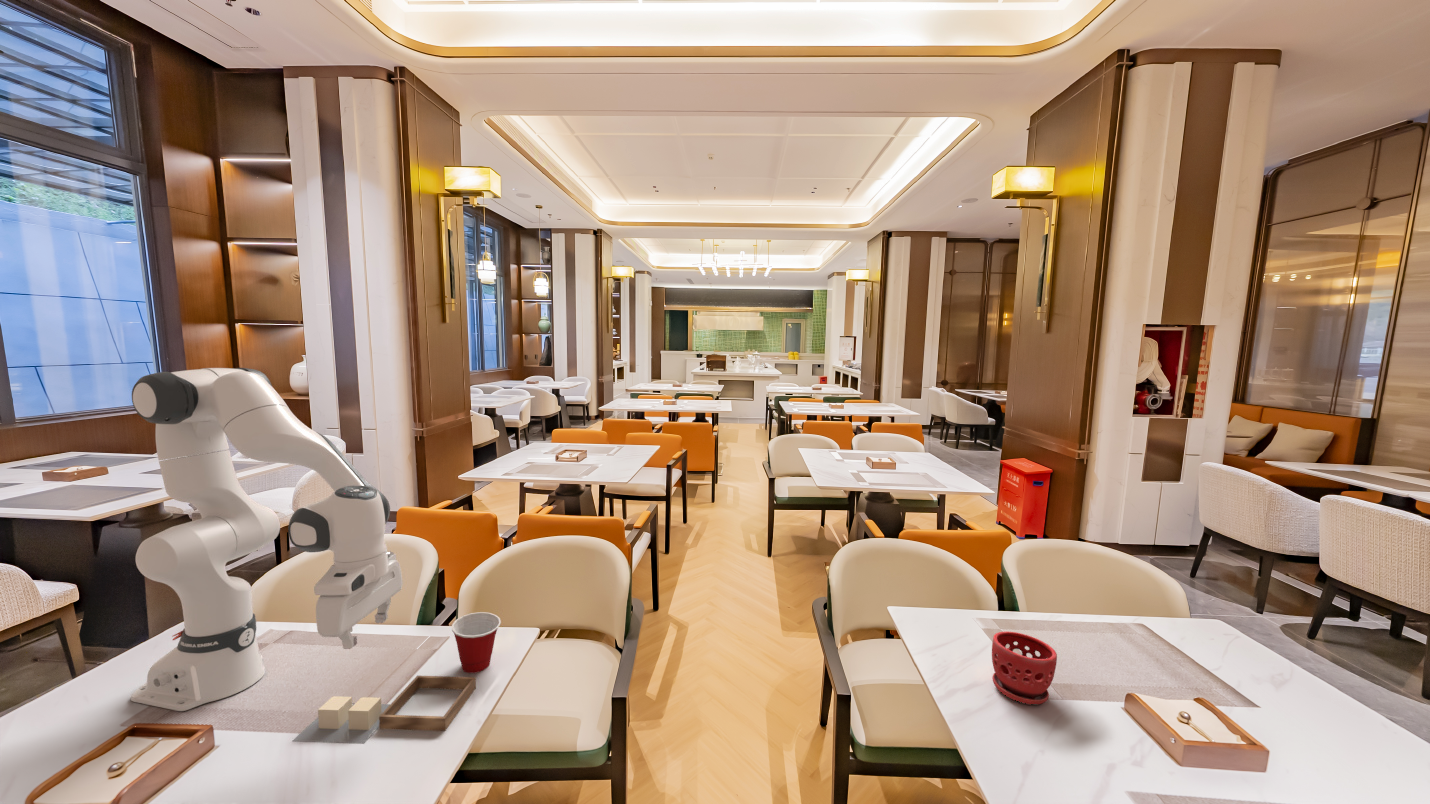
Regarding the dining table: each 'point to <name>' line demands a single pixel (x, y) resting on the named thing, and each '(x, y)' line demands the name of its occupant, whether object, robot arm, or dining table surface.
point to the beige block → (364, 713)
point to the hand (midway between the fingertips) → (366, 633)
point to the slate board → (337, 732)
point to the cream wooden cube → (334, 712)
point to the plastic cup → (475, 639)
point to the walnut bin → (427, 722)
